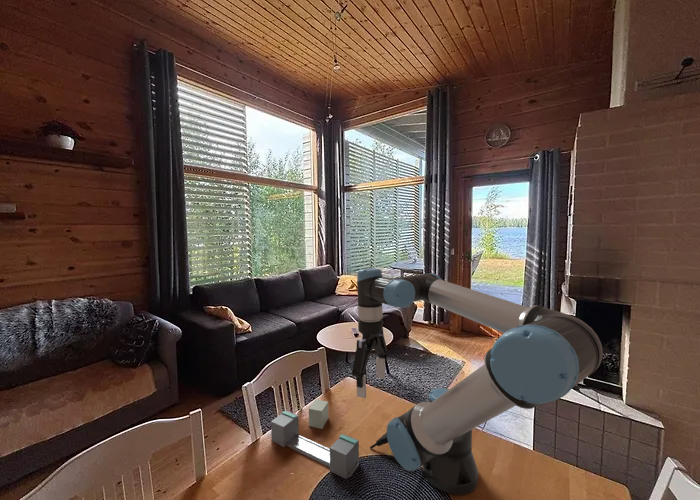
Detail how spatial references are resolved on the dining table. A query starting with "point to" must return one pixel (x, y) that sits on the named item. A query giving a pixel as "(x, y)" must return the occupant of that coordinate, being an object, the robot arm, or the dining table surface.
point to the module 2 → (318, 414)
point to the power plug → (381, 441)
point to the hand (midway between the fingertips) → (371, 386)
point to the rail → (314, 451)
